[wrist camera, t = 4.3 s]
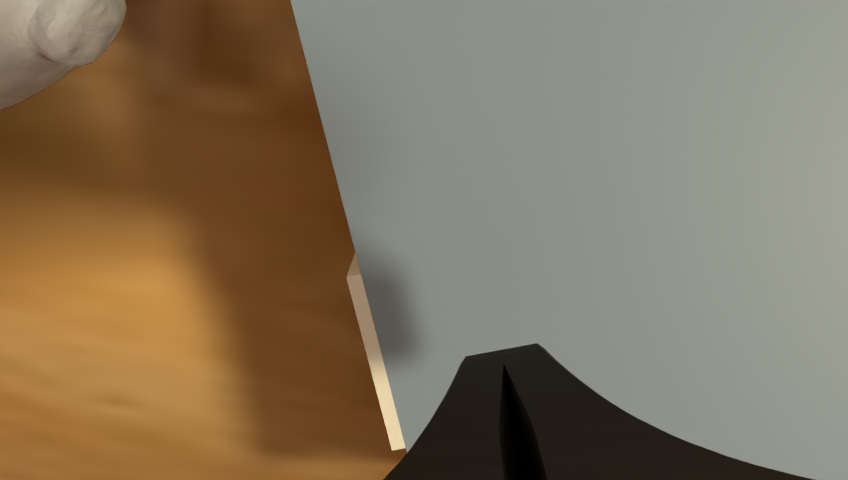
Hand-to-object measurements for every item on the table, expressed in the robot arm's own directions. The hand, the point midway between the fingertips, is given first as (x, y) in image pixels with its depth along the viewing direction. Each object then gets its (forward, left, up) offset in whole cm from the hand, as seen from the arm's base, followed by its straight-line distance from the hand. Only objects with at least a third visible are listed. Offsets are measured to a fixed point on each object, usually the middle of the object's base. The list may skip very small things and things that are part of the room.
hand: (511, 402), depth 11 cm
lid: (0, -3, -6) cm, 6 cm away
